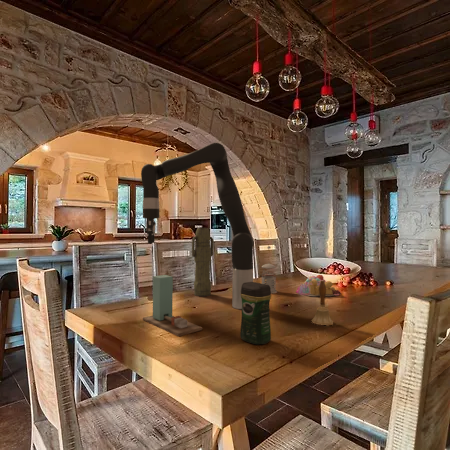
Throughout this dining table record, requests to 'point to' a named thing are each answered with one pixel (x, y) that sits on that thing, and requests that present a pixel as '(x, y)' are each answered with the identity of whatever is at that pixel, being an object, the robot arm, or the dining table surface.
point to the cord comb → (174, 325)
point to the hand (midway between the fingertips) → (151, 243)
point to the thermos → (202, 261)
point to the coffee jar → (255, 313)
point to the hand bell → (322, 308)
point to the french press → (269, 277)
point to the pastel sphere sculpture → (316, 287)
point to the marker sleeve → (162, 296)
